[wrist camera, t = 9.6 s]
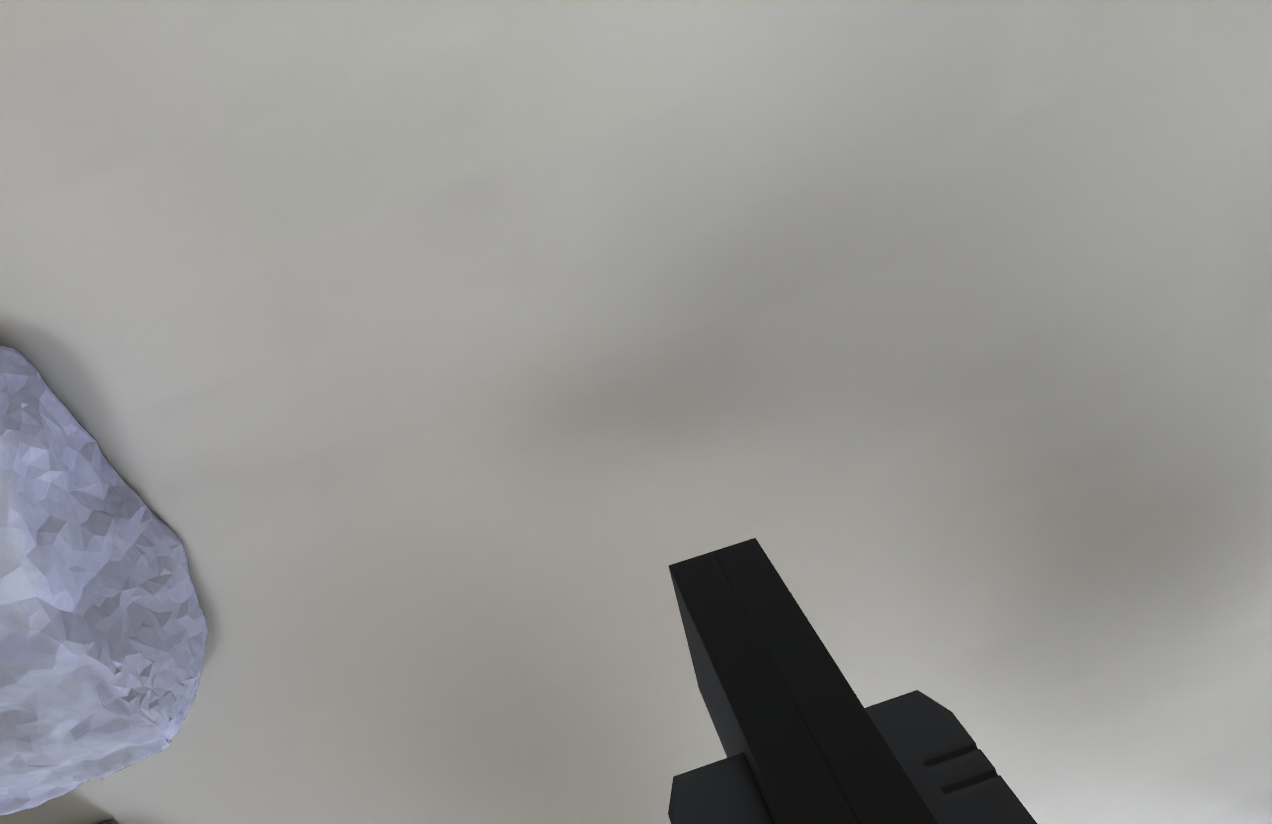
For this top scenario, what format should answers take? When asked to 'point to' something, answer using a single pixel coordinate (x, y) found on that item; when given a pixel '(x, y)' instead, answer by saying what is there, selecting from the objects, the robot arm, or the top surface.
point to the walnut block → (110, 822)
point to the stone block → (82, 606)
